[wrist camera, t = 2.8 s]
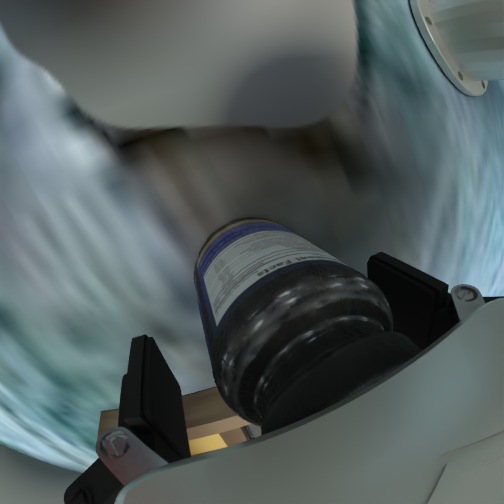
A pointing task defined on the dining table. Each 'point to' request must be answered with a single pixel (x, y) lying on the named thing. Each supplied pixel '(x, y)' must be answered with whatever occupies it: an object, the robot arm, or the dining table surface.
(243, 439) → the socket board
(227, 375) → the pill bottle
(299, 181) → the dining table surface
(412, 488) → the robot arm
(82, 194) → the dining table surface
